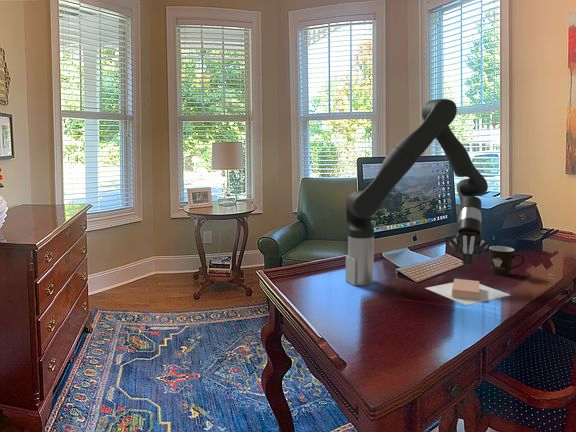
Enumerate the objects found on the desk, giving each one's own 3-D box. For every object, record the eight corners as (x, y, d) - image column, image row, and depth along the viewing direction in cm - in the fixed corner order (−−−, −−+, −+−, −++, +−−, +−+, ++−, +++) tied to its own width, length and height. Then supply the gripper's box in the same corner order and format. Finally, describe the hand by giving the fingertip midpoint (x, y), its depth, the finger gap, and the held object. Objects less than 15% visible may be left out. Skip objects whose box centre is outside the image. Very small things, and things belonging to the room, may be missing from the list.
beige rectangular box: (478, 288, 148) (478, 300, 137) (453, 286, 151) (451, 297, 140) (479, 281, 148) (479, 292, 137) (454, 278, 151) (452, 289, 140)
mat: (465, 306, 134) (465, 305, 134) (424, 289, 150) (424, 288, 150) (511, 296, 142) (511, 294, 142) (467, 281, 158) (467, 279, 158)
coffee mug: (482, 272, 168) (483, 247, 166) (499, 269, 171) (501, 245, 169) (507, 281, 157) (508, 254, 155) (524, 278, 160) (526, 251, 158)
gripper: (449, 215, 153) (445, 258, 144) (491, 217, 148) (489, 261, 139) (449, 227, 159) (446, 269, 150) (489, 230, 154) (488, 273, 145)
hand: (467, 265), depth 144 cm, fingers closed
